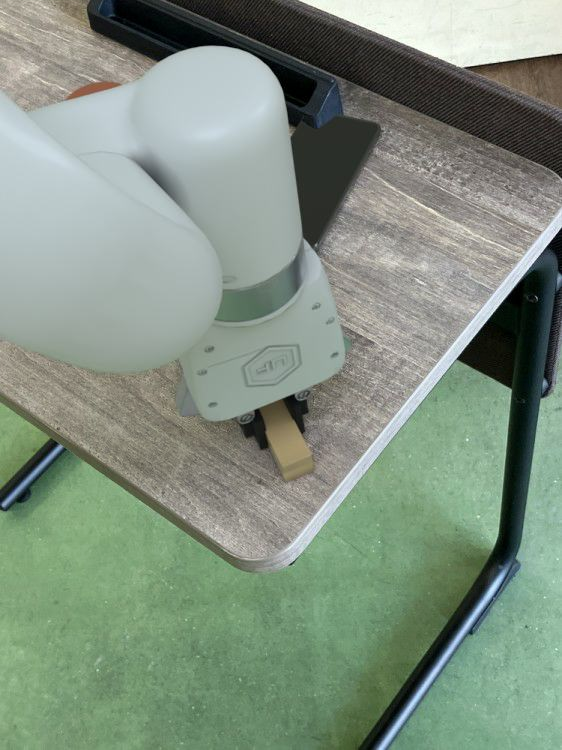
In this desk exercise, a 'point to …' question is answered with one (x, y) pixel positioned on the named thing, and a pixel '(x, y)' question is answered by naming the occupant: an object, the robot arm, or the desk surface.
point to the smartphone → (328, 168)
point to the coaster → (92, 89)
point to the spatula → (286, 442)
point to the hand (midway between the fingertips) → (275, 424)
